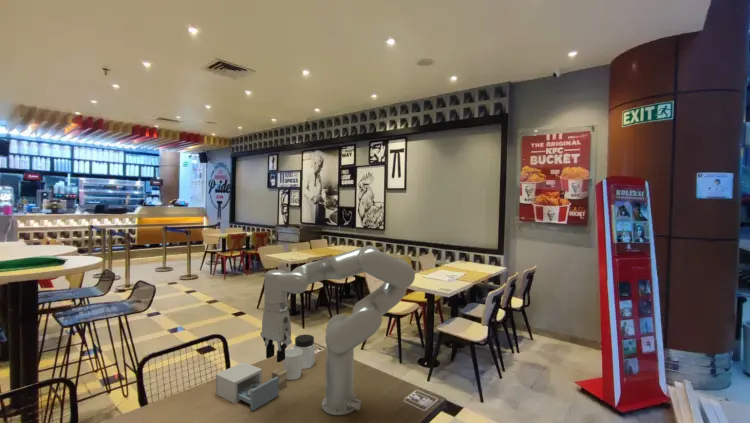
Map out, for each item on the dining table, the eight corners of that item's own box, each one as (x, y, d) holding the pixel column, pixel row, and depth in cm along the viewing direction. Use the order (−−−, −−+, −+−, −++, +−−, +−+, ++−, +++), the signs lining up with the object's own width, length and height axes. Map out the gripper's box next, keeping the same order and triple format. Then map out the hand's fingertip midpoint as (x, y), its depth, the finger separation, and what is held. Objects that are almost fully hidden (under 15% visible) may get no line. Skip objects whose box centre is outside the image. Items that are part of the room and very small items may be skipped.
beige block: (286, 386, 137) (286, 370, 137) (278, 390, 133) (279, 375, 133) (279, 383, 139) (279, 368, 139) (271, 387, 135) (271, 372, 135)
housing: (262, 388, 135) (262, 369, 134) (234, 403, 125) (234, 382, 124) (243, 380, 141) (243, 362, 140) (215, 394, 130) (215, 374, 130)
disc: (256, 386, 132) (256, 381, 132) (267, 391, 129) (267, 385, 129) (242, 394, 127) (242, 388, 127) (253, 399, 124) (253, 393, 124)
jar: (318, 364, 155) (318, 337, 155) (303, 371, 149) (303, 343, 149) (305, 358, 161) (305, 332, 161) (290, 364, 155) (290, 337, 154)
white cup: (299, 381, 141) (300, 356, 140) (280, 380, 141) (280, 355, 141) (304, 371, 149) (304, 348, 148) (285, 371, 149) (285, 347, 149)
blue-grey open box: (278, 395, 130) (278, 377, 129) (252, 410, 120) (252, 391, 120) (258, 386, 135) (258, 369, 135) (231, 400, 126) (231, 382, 125)
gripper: (301, 307, 120) (301, 361, 120) (267, 300, 129) (267, 349, 129) (285, 313, 114) (284, 369, 114) (250, 305, 123) (250, 357, 123)
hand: (275, 358), depth 122 cm, fingers open, 4 cm apart
